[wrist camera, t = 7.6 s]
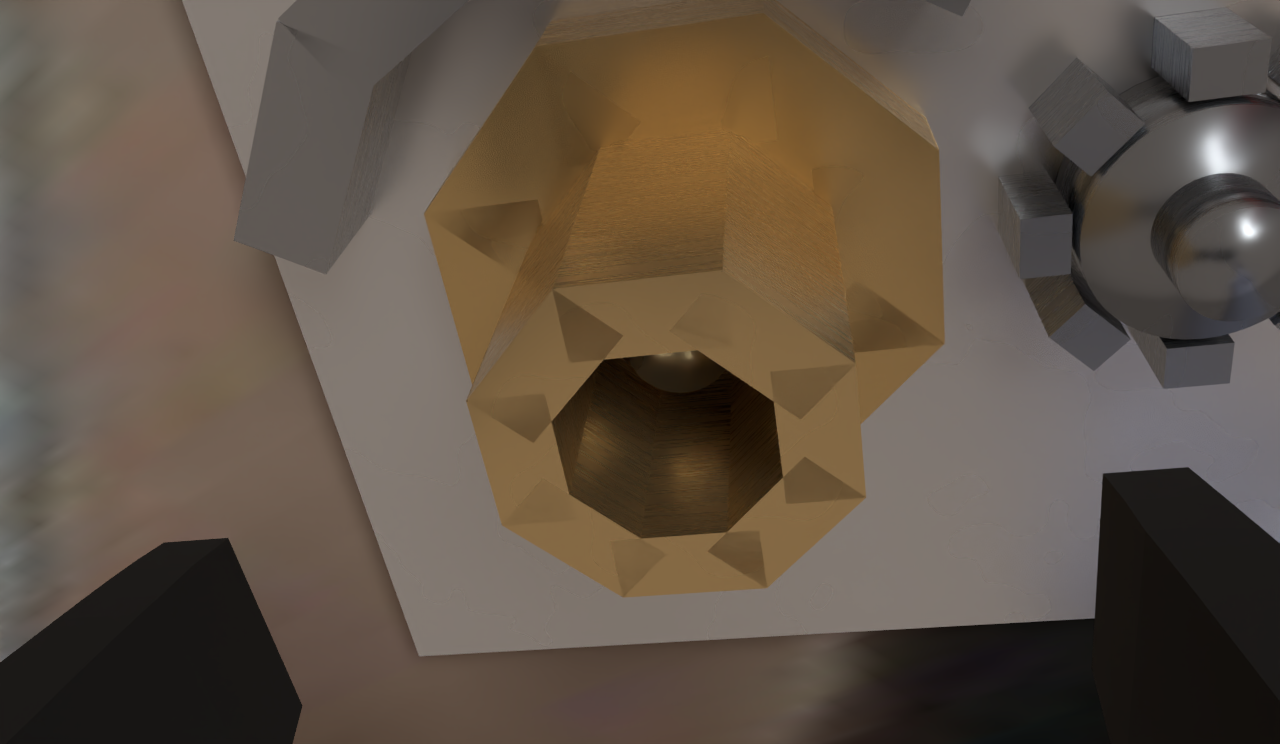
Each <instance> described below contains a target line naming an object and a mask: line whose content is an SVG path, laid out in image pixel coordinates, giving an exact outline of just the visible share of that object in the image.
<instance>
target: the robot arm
mask: <svg viewBox="0 0 1280 744" xmlns="http://www.w3.org/2000/svg"><path fill="white" fill-rule="evenodd" d="M1092 671H1093V675H1094V679H1095V683H1096V687H1097V691H1098V695H1099V699H1100V703H1101V707H1102V711H1103V715H1104V719H1105V723H1106V727H1107V731H1108V735H1109V738H1110V742H1111V744H1280V543H1279V542H1278V541H1277V540H1275V539H1274V538H1273V537H1272V536H1271V535H1269V534H1268V533H1267V532H1266V531H1265V530H1263V529H1262V528H1261V527H1260V526H1259V525H1257V524H1256V523H1255V522H1254V521H1253V520H1251V519H1250V518H1249V517H1248V516H1247V515H1246V514H1244V513H1243V512H1242V511H1241V510H1239V509H1238V508H1237V507H1236V506H1235V505H1233V504H1232V503H1231V502H1230V501H1229V500H1227V499H1226V498H1225V497H1224V496H1223V495H1221V494H1220V493H1219V492H1218V491H1217V490H1215V489H1214V488H1213V487H1212V486H1211V485H1209V484H1208V483H1207V482H1206V481H1205V480H1203V479H1202V478H1201V477H1200V476H1199V475H1197V474H1196V473H1195V472H1194V471H1192V470H1191V469H1190V468H1189V467H1183V468H1170V469H1156V470H1143V471H1129V472H1115V473H1103V479H1102V496H1101V514H1100V532H1099V550H1098V568H1097V585H1096V603H1095V621H1094V639H1093V657H1092ZM301 709H302V704H301V702H300V699H299V697H298V695H297V693H296V690H295V688H294V686H293V684H292V681H291V679H290V677H289V675H288V672H287V670H286V668H285V666H284V663H283V661H282V659H281V657H280V654H279V652H278V650H277V647H276V645H275V643H274V641H273V638H272V636H271V634H270V632H269V629H268V627H267V625H266V623H265V620H264V618H263V616H262V614H261V611H260V609H259V607H258V605H257V602H256V600H255V598H254V596H253V593H252V591H251V589H250V587H249V584H248V582H247V580H246V578H245V575H244V573H243V571H242V568H241V566H240V564H239V562H238V559H237V557H236V555H235V553H234V550H233V548H232V546H231V544H230V541H229V539H228V538H222V539H208V540H194V541H181V542H167V543H163V544H161V545H160V546H158V547H157V548H155V549H154V550H152V551H150V552H149V553H147V554H146V555H144V556H143V557H141V558H140V559H138V560H137V561H135V562H134V563H132V564H131V565H129V566H128V567H127V568H125V569H124V570H122V571H121V572H120V573H118V574H117V575H115V576H114V577H113V578H111V579H110V580H108V581H107V582H106V583H104V584H103V585H102V586H100V587H99V588H98V589H96V590H95V591H94V592H92V593H91V594H90V595H88V596H87V597H85V598H84V599H83V600H81V601H80V602H79V603H78V604H76V605H75V606H74V607H72V608H71V609H70V610H68V611H67V612H66V613H64V614H63V615H62V616H60V617H59V618H58V619H56V620H55V621H54V622H53V623H51V624H50V625H49V626H47V627H46V628H45V629H43V630H42V631H41V632H40V633H38V634H37V635H36V636H34V637H33V638H32V639H30V640H29V641H28V642H26V643H25V644H24V645H23V646H21V647H20V648H19V649H17V650H16V651H15V652H13V653H12V654H11V655H9V656H8V657H7V658H6V659H4V660H3V661H2V662H0V744H293V740H294V736H295V732H296V728H297V724H298V720H299V717H300V713H301Z"/></svg>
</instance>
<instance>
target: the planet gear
mask: <svg viewBox="0 0 1280 744" xmlns="http://www.w3.org/2000/svg"><path fill="white" fill-rule="evenodd" d="M424 216H425V220H426V223H427V227H428V230H429V234H430V238H431V241H432V245H433V248H434V252H435V255H436V259H437V262H438V266H439V269H440V273H441V276H442V280H443V284H444V287H445V291H446V294H447V298H448V301H449V305H450V308H451V312H452V315H453V319H454V322H455V326H456V330H457V333H458V337H459V340H460V344H461V347H462V351H463V354H464V358H465V361H466V365H467V369H468V372H469V376H470V379H471V383H472V387H471V390H470V392H469V395H468V397H467V400H466V403H467V406H468V409H469V413H470V416H471V420H472V423H473V427H474V430H475V434H476V437H477V441H478V444H479V448H480V451H481V455H482V458H483V462H484V465H485V468H486V472H487V475H488V479H489V482H490V486H491V489H492V493H493V496H494V500H495V503H496V507H497V510H498V514H499V517H500V520H501V524H502V526H504V527H505V528H507V529H509V530H510V531H512V532H514V533H516V534H517V535H519V536H521V537H522V538H524V539H526V540H527V541H529V542H531V543H532V544H534V545H536V546H537V547H539V548H541V549H542V550H544V551H546V552H547V553H549V554H551V555H552V556H554V557H556V558H557V559H559V560H561V561H562V562H564V563H566V564H568V565H569V566H571V567H573V568H574V569H576V570H578V571H579V572H581V573H583V574H584V575H586V576H588V577H589V578H591V579H593V580H594V581H596V582H598V583H599V584H601V585H603V586H604V587H606V588H608V589H609V590H611V591H613V592H615V593H616V594H618V595H620V596H621V597H623V598H624V597H640V596H655V595H671V594H686V593H702V592H718V591H733V590H749V589H764V588H768V587H769V586H770V585H771V584H772V583H773V582H774V581H775V580H777V579H778V578H779V577H780V576H781V575H782V574H783V573H784V572H785V571H786V570H788V569H789V568H790V567H791V566H792V565H793V564H794V563H795V562H796V561H797V560H798V559H800V558H801V557H802V556H803V555H804V554H805V553H806V552H807V551H808V550H809V549H811V548H812V547H813V546H814V545H815V544H816V543H817V542H818V541H819V540H820V539H821V538H823V537H824V536H825V535H826V534H827V533H828V532H829V531H830V530H831V529H832V528H834V527H835V526H836V525H837V524H838V523H839V522H840V521H841V520H842V519H843V518H844V517H846V516H847V515H848V514H849V513H850V512H851V511H852V510H853V509H854V508H855V507H856V506H858V505H859V504H860V503H861V502H862V501H863V500H864V499H865V498H866V489H865V476H864V463H863V450H862V437H861V424H862V423H863V422H864V421H865V420H866V419H867V418H868V417H869V416H870V415H871V414H872V413H873V412H874V411H875V410H876V409H877V408H878V407H879V406H880V405H881V404H882V403H884V402H885V401H886V400H887V399H888V398H889V397H890V396H891V395H892V394H893V393H894V392H895V391H896V390H897V389H898V388H899V387H900V386H901V385H902V384H903V383H904V382H905V381H906V380H907V379H908V378H909V377H911V376H912V375H913V374H914V373H915V372H916V371H917V370H918V369H919V368H920V367H921V366H922V365H923V364H924V363H925V362H926V361H927V360H928V359H929V358H930V357H931V356H932V355H933V354H934V353H935V352H937V351H938V350H939V349H940V348H941V347H942V346H943V345H944V344H945V329H944V296H943V262H942V229H941V196H940V162H939V148H938V146H937V143H936V141H935V138H934V136H933V134H932V131H931V129H930V126H929V124H928V121H927V119H926V117H924V116H923V115H922V114H920V113H919V112H918V111H916V110H915V109H914V108H913V107H911V106H910V105H909V104H908V103H906V102H905V101H904V100H903V99H901V98H900V97H899V96H897V95H896V94H895V93H894V92H892V91H891V90H890V89H889V88H887V87H886V86H885V85H883V84H882V83H881V82H880V81H878V80H877V79H876V78H875V77H873V76H872V75H871V74H870V73H868V72H867V71H866V70H864V69H863V68H862V67H861V66H859V65H858V64H857V63H856V62H854V61H853V60H852V59H850V58H849V57H848V56H847V55H845V54H844V53H843V52H842V51H840V50H839V49H838V48H836V47H835V46H834V45H833V44H831V43H830V42H829V41H828V40H826V39H825V38H824V37H823V36H821V35H820V34H819V33H817V32H816V31H815V30H814V29H812V28H811V27H810V26H809V25H807V24H806V23H805V22H803V21H802V20H801V19H800V18H798V17H797V16H796V15H795V14H793V13H792V12H791V11H790V10H788V9H787V8H786V7H784V6H783V5H782V4H781V3H779V2H778V1H777V0H686V1H680V2H673V3H666V4H660V5H653V6H646V7H639V8H633V9H626V10H619V11H613V12H606V13H599V14H593V15H586V16H579V17H573V18H566V19H559V20H553V21H551V22H550V23H549V25H548V26H547V28H546V30H545V31H544V33H543V34H542V36H541V38H540V39H539V41H538V42H537V44H536V45H535V47H534V48H533V50H532V51H531V53H530V54H529V56H528V57H527V59H526V60H525V62H524V63H523V65H522V66H521V68H520V69H519V71H518V72H517V74H516V75H515V77H514V78H513V80H512V81H511V83H510V84H509V86H508V87H507V89H506V90H505V92H504V93H503V95H502V96H501V98H500V99H499V101H498V102H497V104H496V105H495V107H494V108H493V110H492V111H491V113H490V114H489V116H488V117H487V119H486V120H485V122H484V123H483V125H482V126H481V128H480V129H479V131H478V132H477V134H476V135H475V137H474V138H473V140H472V141H471V143H470V144H469V146H468V147H467V149H466V150H465V152H464V153H463V155H462V156H461V158H460V159H459V161H458V162H457V164H456V165H455V167H454V168H453V170H452V171H451V173H450V174H449V176H448V177H447V179H446V180H445V181H444V183H443V184H442V186H441V187H440V189H439V191H438V192H437V194H436V195H435V197H434V198H433V200H432V201H431V203H430V205H429V206H428V208H427V209H426V211H425V212H424ZM696 350H698V351H700V352H701V353H703V354H704V355H706V356H707V357H709V358H710V359H711V360H713V361H714V362H716V363H717V364H719V365H720V366H722V367H723V368H725V370H724V372H723V373H722V374H721V376H720V377H719V378H718V379H717V380H716V381H714V382H713V383H711V384H710V385H708V386H706V387H705V388H702V389H700V390H696V391H692V392H685V393H676V392H669V391H664V390H661V389H658V388H656V387H654V386H652V385H650V384H649V383H647V382H646V381H644V380H643V379H642V378H641V377H640V376H639V375H638V374H637V373H636V371H635V370H634V369H633V367H632V365H631V363H630V361H629V358H628V357H636V356H646V355H656V354H666V353H676V352H686V351H696Z"/></svg>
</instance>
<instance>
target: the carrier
mask: <svg viewBox="0 0 1280 744" xmlns="http://www.w3.org/2000/svg"><path fill="white" fill-rule="evenodd" d="M680 1H686V0H182V2H183V5H184V7H185V10H186V13H187V16H188V18H189V21H190V24H191V27H192V29H193V32H194V35H195V38H196V41H197V43H198V46H199V49H200V52H201V54H202V57H203V60H204V63H205V65H206V68H207V71H208V74H209V77H210V79H211V82H212V85H213V88H214V90H215V93H216V96H217V99H218V101H219V104H220V107H221V110H222V113H223V115H224V118H225V121H226V124H227V126H228V129H229V132H230V135H231V137H232V140H233V143H234V146H235V148H236V151H237V154H238V157H239V160H240V162H241V165H242V168H243V171H244V173H245V176H246V180H245V185H244V190H243V195H242V200H241V205H240V211H239V216H238V221H237V226H236V231H235V236H234V241H236V242H239V243H242V244H244V245H247V246H250V247H253V248H255V249H258V250H261V251H264V252H266V253H269V254H272V255H274V256H275V259H276V262H277V265H278V267H279V270H280V273H281V276H282V279H283V281H284V284H285V287H286V290H287V292H288V295H289V298H290V301H291V303H292V306H293V309H294V312H295V314H296V317H297V320H298V323H299V326H300V328H301V331H302V334H303V337H304V339H305V342H306V345H307V348H308V350H309V353H310V356H311V359H312V362H313V364H314V367H315V370H316V373H317V375H318V378H319V381H320V384H321V386H322V389H323V392H324V395H325V398H326V400H327V403H328V406H329V409H330V411H331V414H332V417H333V420H334V422H335V425H336V428H337V431H338V433H339V436H340V439H341V442H342V445H343V447H344V450H345V453H346V456H347V458H348V461H349V464H350V467H351V469H352V472H353V475H354V478H355V481H356V483H357V486H358V489H359V492H360V494H361V497H362V500H363V503H364V505H365V508H366V511H367V514H368V516H369V519H370V522H371V525H372V528H373V530H374V533H375V536H376V539H377V541H378V544H379V547H380V550H381V552H382V555H383V558H384V561H385V564H386V566H387V569H388V572H389V575H390V577H391V580H392V583H393V586H394V588H395V591H396V594H397V597H398V599H399V602H400V605H401V608H402V611H403V613H404V616H405V619H406V622H407V624H408V627H409V630H410V633H411V635H412V638H413V641H414V644H415V647H416V649H417V652H418V655H419V656H434V655H451V654H469V653H487V652H504V651H522V650H540V649H558V648H575V647H593V646H611V645H628V644H646V643H664V642H682V641H699V640H717V639H735V638H752V637H770V636H788V635H806V634H823V633H841V632H859V631H876V630H894V629H912V628H930V627H947V626H965V625H983V624H1000V623H1018V622H1036V621H1054V620H1071V619H1089V618H1095V603H1096V585H1097V568H1098V550H1099V532H1100V514H1101V496H1102V479H1103V473H1115V472H1129V471H1143V470H1156V469H1170V468H1183V467H1189V468H1190V469H1191V470H1192V471H1194V472H1195V473H1196V474H1197V475H1199V476H1200V477H1201V478H1202V479H1203V480H1205V481H1206V482H1207V483H1208V484H1209V485H1211V486H1212V487H1213V488H1214V489H1215V490H1217V491H1218V492H1219V493H1220V494H1221V495H1223V496H1224V497H1225V498H1226V499H1227V500H1229V501H1230V502H1231V503H1232V504H1233V505H1235V506H1236V507H1237V508H1238V509H1239V510H1241V511H1242V512H1243V513H1244V514H1246V515H1247V516H1248V517H1249V518H1250V519H1251V520H1253V521H1254V522H1255V523H1256V524H1257V525H1259V526H1260V527H1261V528H1262V529H1263V530H1265V531H1266V532H1267V533H1268V534H1269V535H1271V536H1272V537H1273V538H1274V539H1275V540H1277V541H1278V542H1279V543H1280V0H777V1H778V2H779V3H781V4H782V5H783V6H784V7H786V8H787V9H788V10H790V11H791V12H792V13H793V14H795V15H796V16H797V17H798V18H800V19H801V20H802V21H803V22H805V23H806V24H807V25H809V26H810V27H811V28H812V29H814V30H815V31H816V32H817V33H819V34H820V35H821V36H823V37H824V38H825V39H826V40H828V41H829V42H830V43H831V44H833V45H834V46H835V47H836V48H838V49H839V50H840V51H842V52H843V53H844V54H845V55H847V56H848V57H849V58H850V59H852V60H853V61H854V62H856V63H857V64H858V65H859V66H861V67H862V68H863V69H864V70H866V71H867V72H868V73H870V74H871V75H872V76H873V77H875V78H876V79H877V80H878V81H880V82H881V83H882V84H883V85H885V86H886V87H887V88H889V89H890V90H891V91H892V92H894V93H895V94H896V95H897V96H899V97H900V98H901V99H903V100H904V101H905V102H906V103H908V104H909V105H910V106H911V107H913V108H914V109H915V110H916V111H918V112H919V113H920V114H922V115H923V116H924V117H926V119H927V121H928V124H929V126H930V129H931V131H932V134H933V136H934V138H935V141H936V143H937V146H938V148H939V162H940V196H941V229H942V262H943V296H944V329H945V344H944V345H943V346H942V347H941V348H940V349H939V350H938V351H937V352H935V353H934V354H933V355H932V356H931V357H930V358H929V359H928V360H927V361H926V362H925V363H924V364H923V365H922V366H921V367H920V368H919V369H918V370H917V371H916V372H915V373H914V374H913V375H912V376H911V377H909V378H908V379H907V380H906V381H905V382H904V383H903V384H902V385H901V386H900V387H899V388H898V389H897V390H896V391H895V392H894V393H893V394H892V395H891V396H890V397H889V398H888V399H887V400H886V401H885V402H884V403H882V404H881V405H880V406H879V407H878V408H877V409H876V410H875V411H874V412H873V413H872V414H871V415H870V416H869V417H868V418H867V419H866V420H865V421H864V422H863V423H862V424H861V437H862V450H863V463H864V476H865V489H866V498H865V499H864V500H863V501H862V502H861V503H860V504H859V505H858V506H856V507H855V508H854V509H853V510H852V511H851V512H850V513H849V514H848V515H847V516H846V517H844V518H843V519H842V520H841V521H840V522H839V523H838V524H837V525H836V526H835V527H834V528H832V529H831V530H830V531H829V532H828V533H827V534H826V535H825V536H824V537H823V538H821V539H820V540H819V541H818V542H817V543H816V544H815V545H814V546H813V547H812V548H811V549H809V550H808V551H807V552H806V553H805V554H804V555H803V556H802V557H801V558H800V559H798V560H797V561H796V562H795V563H794V564H793V565H792V566H791V567H790V568H789V569H788V570H786V571H785V572H784V573H783V574H782V575H781V576H780V577H779V578H778V579H777V580H775V581H774V582H773V583H772V584H771V585H770V586H769V587H768V588H764V589H749V590H733V591H718V592H702V593H686V594H671V595H655V596H640V597H624V598H623V597H621V596H620V595H618V594H616V593H615V592H613V591H611V590H609V589H608V588H606V587H604V586H603V585H601V584H599V583H598V582H596V581H594V580H593V579H591V578H589V577H588V576H586V575H584V574H583V573H581V572H579V571H578V570H576V569H574V568H573V567H571V566H569V565H568V564H566V563H564V562H562V561H561V560H559V559H557V558H556V557H554V556H552V555H551V554H549V553H547V552H546V551H544V550H542V549H541V548H539V547H537V546H536V545H534V544H532V543H531V542H529V541H527V540H526V539H524V538H522V537H521V536H519V535H517V534H516V533H514V532H512V531H510V530H509V529H507V528H505V527H504V526H502V524H501V520H500V517H499V514H498V510H497V507H496V503H495V500H494V496H493V493H492V489H491V486H490V482H489V479H488V475H487V472H486V468H485V465H484V462H483V458H482V455H481V451H480V448H479V444H478V441H477V437H476V434H475V430H474V427H473V423H472V420H471V416H470V413H469V409H468V406H467V403H466V400H467V397H468V395H469V392H470V390H471V387H472V383H471V379H470V376H469V372H468V369H467V365H466V361H465V358H464V354H463V351H462V347H461V344H460V340H459V337H458V333H457V330H456V326H455V322H454V319H453V315H452V312H451V308H450V305H449V301H448V298H447V294H446V291H445V287H444V284H443V280H442V276H441V273H440V269H439V266H438V262H437V259H436V255H435V252H434V248H433V245H432V241H431V238H430V234H429V230H428V227H427V223H426V220H425V216H424V212H425V211H426V209H427V208H428V206H429V205H430V203H431V201H432V200H433V198H434V197H435V195H436V194H437V192H438V191H439V189H440V187H441V186H442V184H443V183H444V181H445V180H446V179H447V177H448V176H449V174H450V173H451V171H452V170H453V168H454V167H455V165H456V164H457V162H458V161H459V159H460V158H461V156H462V155H463V153H464V152H465V150H466V149H467V147H468V146H469V144H470V143H471V141H472V140H473V138H474V137H475V135H476V134H477V132H478V131H479V129H480V128H481V126H482V125H483V123H484V122H485V120H486V119H487V117H488V116H489V114H490V113H491V111H492V110H493V108H494V107H495V105H496V104H497V102H498V101H499V99H500V98H501V96H502V95H503V93H504V92H505V90H506V89H507V87H508V86H509V84H510V83H511V81H512V80H513V78H514V77H515V75H516V74H517V72H518V71H519V69H520V68H521V66H522V65H523V63H524V62H525V60H526V59H527V57H528V56H529V54H530V53H531V51H532V50H533V48H534V47H535V45H536V44H537V42H538V41H539V39H540V38H541V36H542V34H543V33H544V31H545V30H546V28H547V26H548V25H549V23H550V22H551V21H553V20H559V19H566V18H573V17H579V16H586V15H593V14H599V13H606V12H613V11H619V10H626V9H633V8H639V7H646V6H653V5H660V4H666V3H673V2H680ZM628 358H629V361H630V363H631V365H632V367H633V369H634V370H635V371H636V373H637V374H638V375H639V376H640V377H641V378H642V379H643V380H644V381H646V382H647V383H649V384H650V385H652V386H654V387H656V388H658V389H661V390H664V391H669V392H676V393H685V392H692V391H696V390H700V389H702V388H705V387H706V386H708V385H710V384H711V383H713V382H714V381H716V380H717V379H718V378H719V377H720V376H721V374H722V373H723V372H724V370H725V368H723V367H722V366H720V365H719V364H717V363H716V362H714V361H713V360H711V359H710V358H709V357H707V356H706V355H704V354H703V353H701V352H700V351H698V350H696V351H686V352H676V353H666V354H656V355H646V356H636V357H628Z"/></svg>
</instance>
